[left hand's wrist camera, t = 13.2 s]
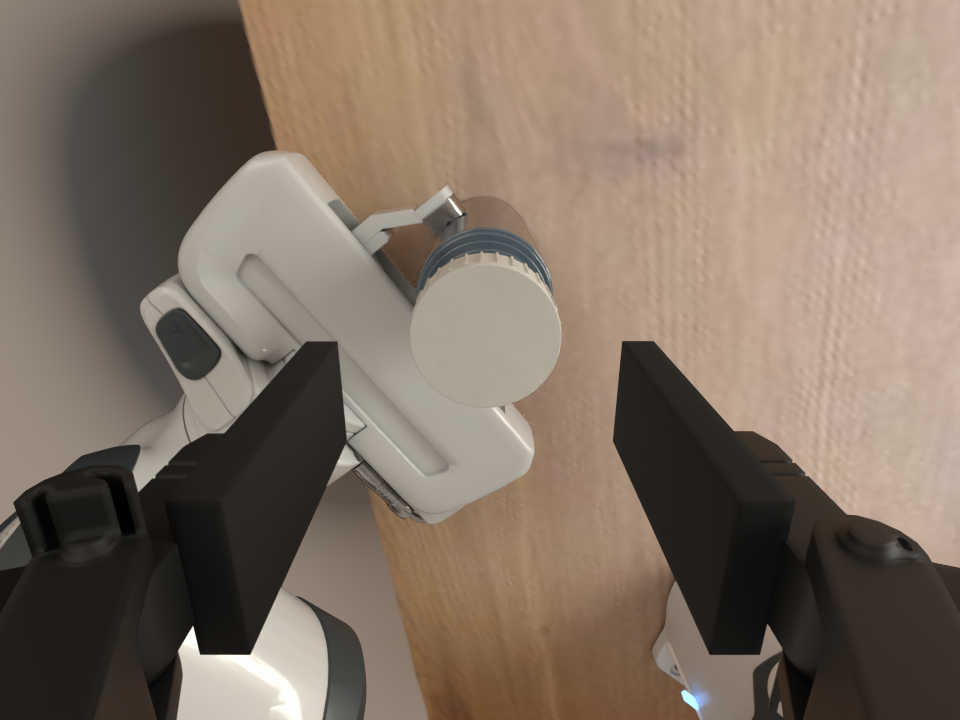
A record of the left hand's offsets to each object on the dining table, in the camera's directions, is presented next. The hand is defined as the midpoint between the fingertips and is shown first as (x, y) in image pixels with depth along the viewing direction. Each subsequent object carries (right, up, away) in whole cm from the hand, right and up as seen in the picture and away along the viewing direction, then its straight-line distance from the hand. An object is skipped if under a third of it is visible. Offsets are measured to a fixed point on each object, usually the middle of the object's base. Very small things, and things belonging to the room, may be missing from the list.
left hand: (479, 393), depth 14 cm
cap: (0, +2, +3) cm, 4 cm away
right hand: (+1, +6, +13) cm, 15 cm away
